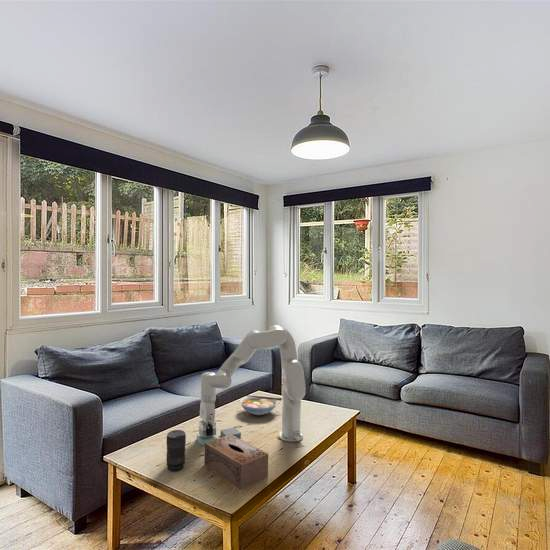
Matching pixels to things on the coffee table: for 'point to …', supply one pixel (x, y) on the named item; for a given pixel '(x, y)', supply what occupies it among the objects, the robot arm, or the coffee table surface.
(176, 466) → the camera lens
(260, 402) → the ramen bowl
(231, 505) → the coffee table surface
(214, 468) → the tissue box cover
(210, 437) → the stand
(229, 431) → the stand
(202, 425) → the block
